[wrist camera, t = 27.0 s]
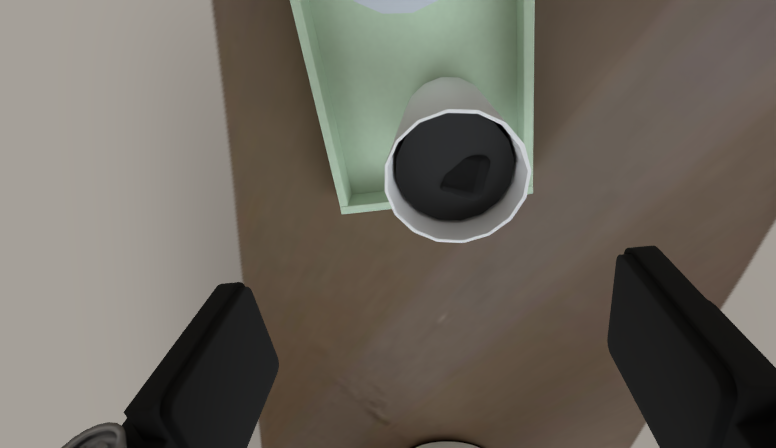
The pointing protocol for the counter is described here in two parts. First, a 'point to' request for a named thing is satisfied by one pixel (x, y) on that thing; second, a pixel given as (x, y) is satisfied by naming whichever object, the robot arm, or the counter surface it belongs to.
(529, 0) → the tray
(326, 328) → the counter surface
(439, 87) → the white tumbler
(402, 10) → the white tapered cup
